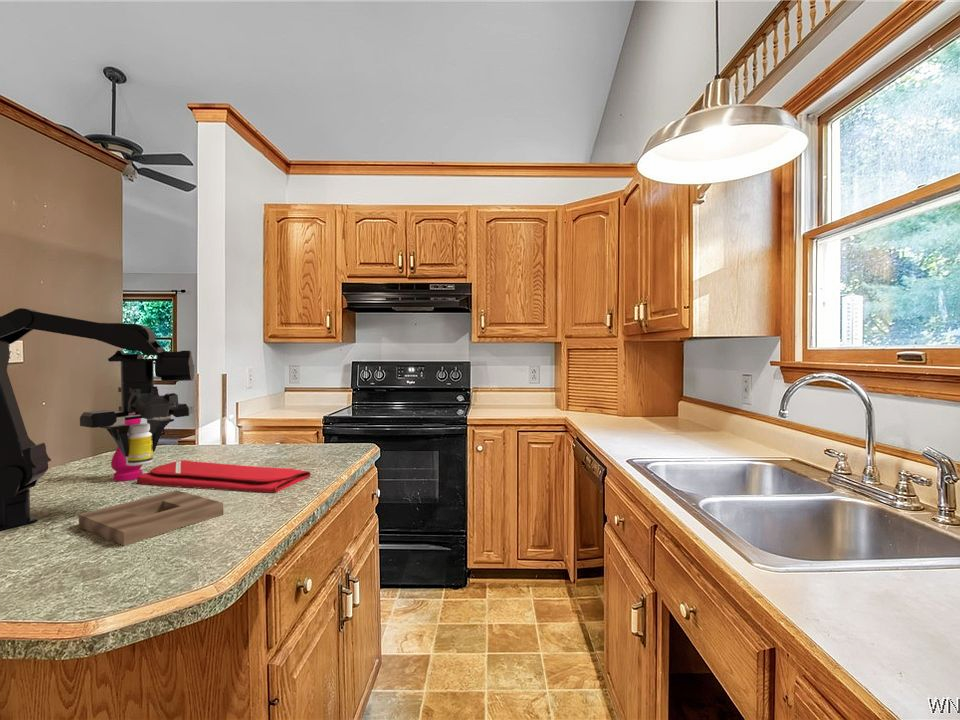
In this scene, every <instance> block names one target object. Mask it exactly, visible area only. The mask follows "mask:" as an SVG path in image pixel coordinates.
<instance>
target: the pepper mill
mask: <svg viewBox="0 0 960 720" xmlns="http://www.w3.org/2000/svg"><path fill="white" fill-rule="evenodd" d="M131 414H132V413H131ZM141 422H142V418H139V419H131V420H125V425H133V424H141ZM127 434H128V432H127ZM116 447H117V448H116V450H115V451H114V454H113V456H112V458H111V462H110V466H111V469H113V470H114V471H115V473H113V482H118V481H122V482H129V481H128V480H131V481H135V479H136V480H137V477H138V476H139V475H142V474H143V470H142V469H141V468H142V467H143V465H136V466H129V465H126V457H125V456H123V454H122V452H121V450H120V449H119V447H118V446H116Z"/></svg>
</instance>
